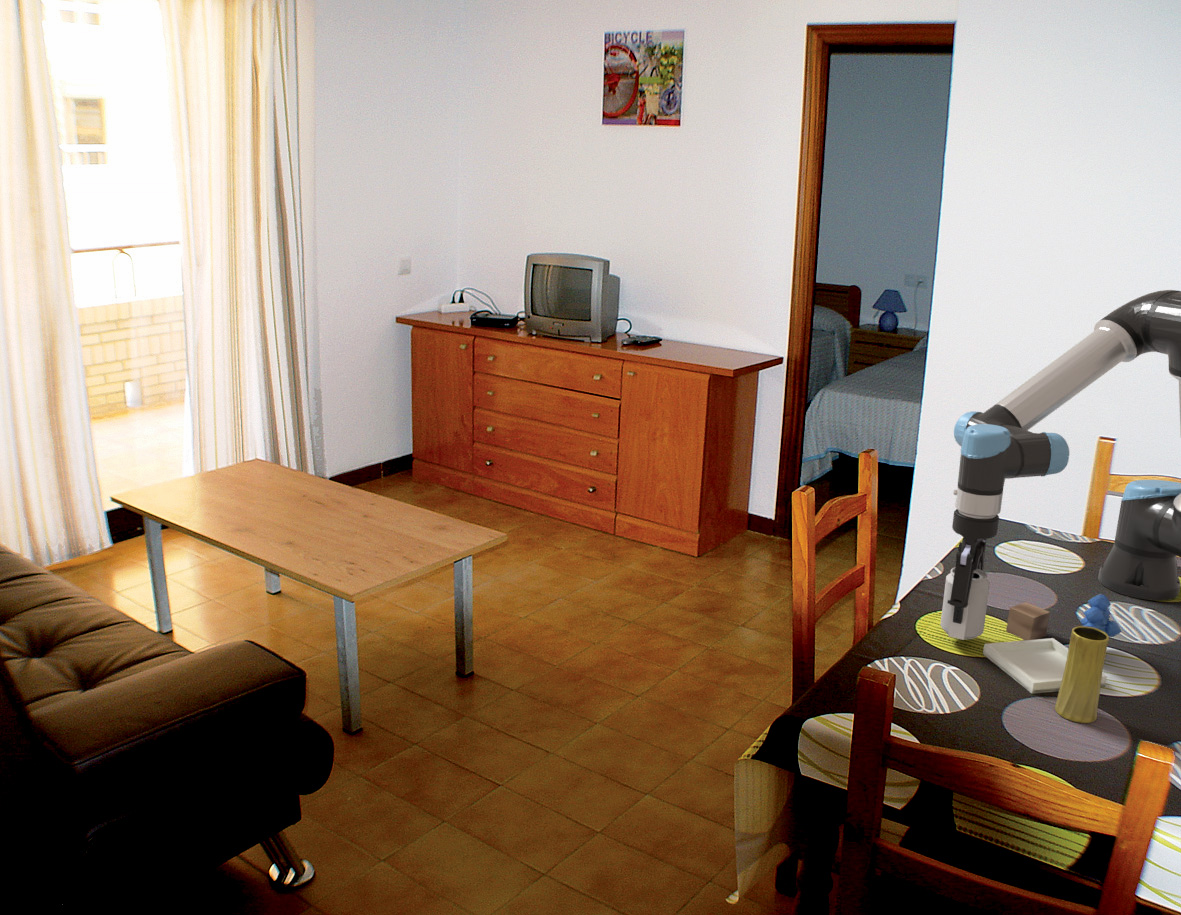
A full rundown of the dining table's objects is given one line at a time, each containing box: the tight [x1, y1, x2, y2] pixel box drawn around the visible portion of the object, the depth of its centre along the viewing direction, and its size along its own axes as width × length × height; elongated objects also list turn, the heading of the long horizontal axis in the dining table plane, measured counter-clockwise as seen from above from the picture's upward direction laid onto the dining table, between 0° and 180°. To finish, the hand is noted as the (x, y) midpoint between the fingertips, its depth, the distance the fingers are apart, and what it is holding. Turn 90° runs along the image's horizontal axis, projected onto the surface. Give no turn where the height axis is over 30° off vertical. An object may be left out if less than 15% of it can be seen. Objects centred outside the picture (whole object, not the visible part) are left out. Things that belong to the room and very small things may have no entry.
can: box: [940, 566, 991, 640], centre depth 178 cm, size 8×8×12 cm
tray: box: [982, 637, 1108, 695], centre depth 170 cm, size 14×14×2 cm
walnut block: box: [1005, 601, 1051, 641], centre depth 183 cm, size 5×5×5 cm
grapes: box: [1079, 593, 1123, 638], centre depth 174 cm, size 12×7×12 cm, turn 143°
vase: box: [1054, 625, 1110, 724], centre depth 155 cm, size 6×6×14 cm
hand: (961, 628), depth 179 cm, fingers closed on can, 7 cm apart
